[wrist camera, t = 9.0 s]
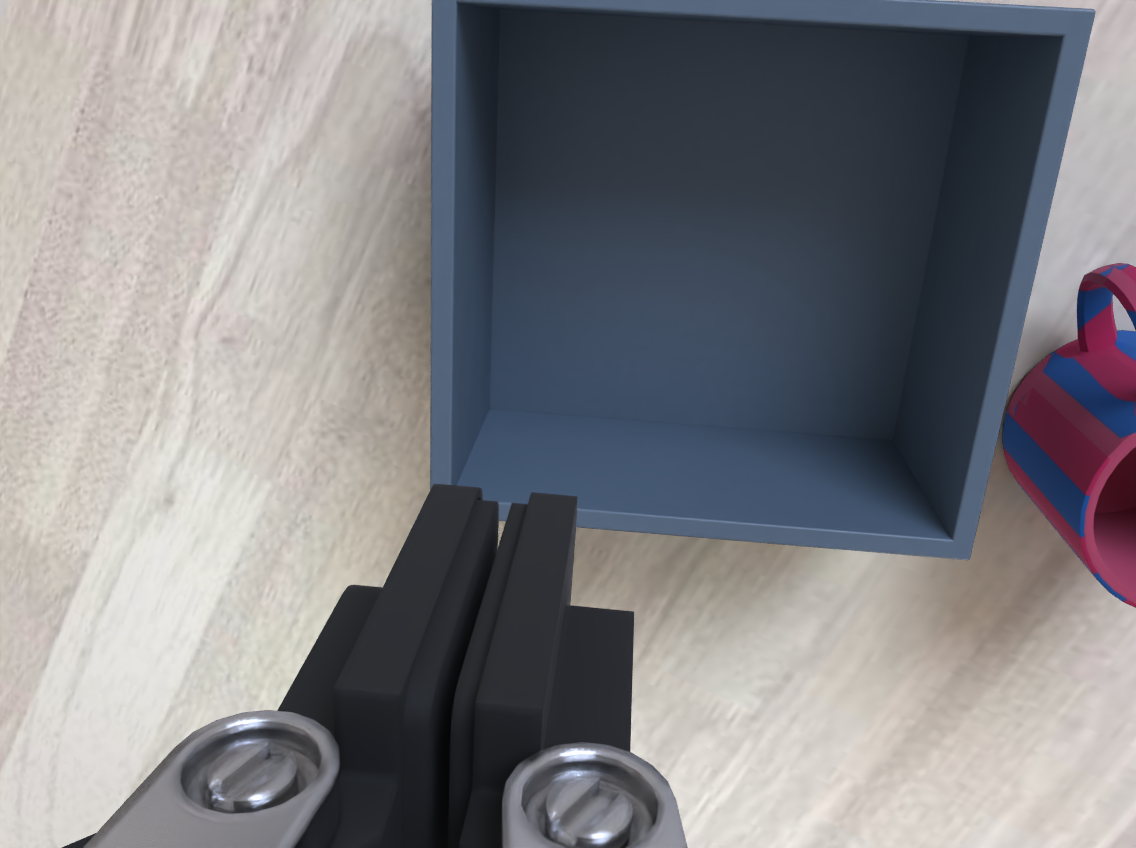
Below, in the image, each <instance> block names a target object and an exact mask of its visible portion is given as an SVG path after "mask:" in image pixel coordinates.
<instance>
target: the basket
mask: <svg viewBox="0 0 1136 848" xmlns="http://www.w3.org/2000/svg"><path fill="white" fill-rule="evenodd" d="M1094 17H1095V10H1094V9H1082V8H1063V7H1045V6H1027V5H1009V4H991V3H973V2H955V1H936V0H432V89H431V419H430V490H431V488H432V486H433V485H434V484H446V485H457V486H468V487H479V488H482V493H483V500H487V501H498V504H499V521H506V520H507V517H508V513H509V510H510V507H511V504H512V503H520V504H528V502H529V498H530V495H531V492H535V493H546V494H557V495H568V496H577V497H578V504H577V520H576V527H581V528H592V529H604V530H616V531H628V532H640V533H652V534H664V535H676V536H688V537H699V538H711V539H723V540H735V541H747V542H759V543H771V544H783V545H795V546H806V547H818V548H830V549H842V550H854V551H866V552H878V553H890V554H902V555H913V556H925V557H937V558H949V559H960V560H969V559H970V556H971V552H972V547H973V543H974V539H975V534H976V530H977V526H978V521H979V517H980V513H981V508H982V504H983V499H984V495H985V491H986V486H987V482H988V478H989V473H990V469H991V465H992V460H993V456H994V452H995V447H996V443H997V439H998V434H999V430H1000V425H1001V421H1002V417H1003V412H1004V408H1005V404H1006V399H1007V395H1008V391H1009V386H1010V382H1011V378H1012V373H1013V369H1014V365H1015V360H1016V356H1017V352H1018V347H1019V343H1020V338H1021V334H1022V330H1023V325H1024V321H1025V317H1026V312H1027V308H1028V304H1029V299H1030V295H1031V291H1032V286H1033V282H1034V278H1035V273H1036V269H1037V265H1038V260H1039V256H1040V251H1041V247H1042V243H1043V238H1044V234H1045V230H1046V225H1047V221H1048V217H1049V212H1050V208H1051V204H1052V199H1053V195H1054V191H1055V186H1056V182H1057V178H1058V173H1059V169H1060V164H1061V160H1062V156H1063V151H1064V147H1065V143H1066V138H1067V134H1068V130H1069V125H1070V121H1071V117H1072V112H1073V108H1074V104H1075V99H1076V95H1077V90H1078V86H1079V82H1080V77H1081V73H1082V69H1083V64H1084V60H1085V56H1086V51H1087V47H1088V43H1089V38H1090V34H1091V30H1092V25H1093V21H1094Z"/></svg>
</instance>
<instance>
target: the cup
mask: <svg viewBox="0 0 1136 848" xmlns="http://www.w3.org/2000/svg"><path fill="white" fill-rule="evenodd" d="M1113 294H1114V295H1115V296H1116V297H1117V298H1118V300H1119V301H1120V302H1121V304H1122V305H1123V307H1124V308H1125V309H1126V311H1127V313H1128V315H1129V317H1130V318H1131V320H1132V322H1133V325H1134V327H1135V330H1136V267H1134V266H1132V265H1130V264H1124V263H1117V264H1112V265H1107V266H1103V267H1100V268H1098V269H1096V270H1094V271H1092V272H1090V273H1088V274H1086V275H1084V277H1083V280H1082V282H1081V284H1080V287H1079V292H1078V298H1077V327H1078V340H1075V341H1073V342H1070V343H1068V344H1066V345H1064V346H1062V347H1061V348H1059V349H1057V350H1056V351H1054V352H1052V353H1051V354H1049V355H1048V356H1047V357H1046V358H1044V359H1043V360H1042V361H1041V362H1039V363H1038V364H1037V365H1036V366H1035V367H1034V368H1033V369H1032V370H1031V371H1030V372H1029V374H1028V375H1027V376H1026V377H1025V378H1024V379H1023V380H1022V382H1021V384H1020V385H1019V387H1018V388H1017V390H1016V391H1015V393H1014V394H1013V397H1012V399H1011V401H1010V403H1009V406H1008V408H1007V411H1006V415H1005V419H1004V424H1003V437H1002V443H1003V449H1004V455H1005V459H1006V461H1007V464H1008V467H1009V469H1010V471H1011V473H1012V475H1013V476H1014V478H1015V479H1016V481H1017V482H1018V484H1019V485H1020V486H1021V487H1022V489H1023V490H1024V491H1025V492H1026V494H1027V495H1028V496H1029V497H1030V498H1031V500H1032V501H1033V502H1034V503H1035V505H1036V506H1037V507H1038V508H1039V509H1040V511H1041V512H1042V513H1043V514H1044V516H1045V517H1046V518H1047V519H1048V520H1049V522H1050V523H1051V524H1052V525H1053V527H1054V528H1055V529H1056V530H1057V531H1058V533H1059V534H1060V535H1061V536H1062V538H1063V539H1064V540H1065V541H1066V542H1067V544H1068V545H1069V546H1070V547H1071V549H1072V550H1073V551H1074V552H1075V553H1076V555H1077V556H1078V557H1079V558H1080V560H1081V561H1082V562H1083V563H1084V564H1085V566H1086V567H1087V568H1088V569H1089V571H1090V572H1091V573H1092V574H1093V575H1094V577H1095V578H1096V579H1097V580H1098V581H1099V582H1100V583H1101V584H1102V585H1103V586H1104V587H1105V588H1106V589H1107V590H1108V591H1109V592H1110V593H1111V594H1112V595H1114V596H1115V597H1117V598H1118V599H1120V600H1121V601H1123V602H1124V603H1126V604H1129V605H1131V606H1133V607H1135V608H1136V331H1124V330H1121V331H1117V330H1116V325H1115V321H1114V315H1113V301H1112V296H1113Z"/></svg>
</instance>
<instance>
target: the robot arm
mask: <svg viewBox="0 0 1136 848" xmlns="http://www.w3.org/2000/svg"><path fill="white" fill-rule="evenodd" d="M577 504H578V497H577V496H568V495H557V494H546V493H535V492H531V495H530V498H529V502H528V504H520V503H512V504H511V507H510V510H509V513H508V517H507V520H506V523H505V527H504V530H503V533H502V537H501V540H500V543H499V547H498V523H499V504H498V501H487V500H483V493H482V488H479V487H468V486H457V485H446V484H434V485H433V486H432V488H431V490H430V492H429V494H428V496H427V498H426V500H425V502H424V504H423V506H422V509H421V511H420V513H419V515H418V517H417V519H416V521H415V523H414V525H413V527H412V529H411V531H410V533H409V535H408V537H407V539H406V541H405V543H404V545H403V547H402V549H401V551H400V553H399V555H398V557H397V560H396V562H395V564H394V566H393V568H392V570H391V572H390V574H389V576H388V578H387V580H386V582H385V584H384V586H383V588H381V587H371V586H360V585H350V586H348V587H347V588H346V590H345V591H344V592H343V594H342V596H341V598H340V599H339V601H338V603H337V605H336V606H335V608H334V610H333V612H332V614H331V615H330V617H329V619H328V621H327V623H326V624H325V626H324V628H323V630H322V632H321V633H320V635H319V637H318V639H317V641H316V642H315V644H314V646H313V648H312V650H311V651H310V653H309V655H308V657H307V659H306V660H305V662H304V664H303V666H302V667H301V669H300V671H299V673H298V675H297V676H296V678H295V680H294V682H293V684H292V685H291V687H290V689H289V691H288V693H287V694H286V696H285V698H284V700H283V702H282V703H281V705H280V707H279V709H278V711H272V710H265V711H255V712H245V713H240V714H236V715H233V716H229V717H226V718H223V719H219V720H216V721H214V722H212V723H210V724H208V725H206V726H204V727H202V728H200V729H198V730H196V731H194V732H193V733H192V734H191V735H189V736H188V737H187V738H186V739H185V740H183V741H182V742H181V743H180V744H179V745H177V746H176V747H175V748H174V749H173V750H172V751H171V752H170V753H169V755H168V756H167V757H166V758H165V759H164V760H163V761H162V762H161V763H160V764H159V765H158V766H157V768H156V769H155V770H154V771H153V772H152V773H151V774H150V775H149V776H148V777H147V778H146V780H145V781H144V782H143V783H142V784H141V785H140V786H139V787H138V788H137V789H136V790H135V792H134V793H133V794H132V795H131V796H130V797H129V798H128V799H127V800H126V801H125V802H124V804H123V805H122V806H121V807H120V808H119V809H118V810H117V811H116V812H115V813H114V814H113V816H112V817H111V818H110V819H109V820H108V821H107V822H106V823H105V824H104V825H103V826H102V828H101V829H100V830H99V831H98V832H97V833H95V834H93V835H90V836H88V837H86V838H83V839H81V840H79V841H76V842H74V843H71V844H69V845H67V846H64V847H62V848H687V843H686V839H685V835H684V831H683V827H682V823H681V818H680V814H679V810H678V806H677V802H676V799H675V797H674V794H673V792H672V790H671V788H670V786H669V783H668V781H667V780H666V779H665V778H664V777H663V776H662V775H661V774H660V773H659V772H658V771H657V770H656V769H655V768H654V767H653V766H652V765H651V764H649V763H648V762H646V761H644V760H643V759H641V758H639V757H638V756H636V755H634V754H633V753H631V752H630V737H631V703H632V669H633V635H634V612H632V611H622V610H611V609H601V608H590V607H580V606H570V602H571V588H572V574H573V561H574V547H575V533H576V520H577ZM497 547H498V550H497Z"/></svg>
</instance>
